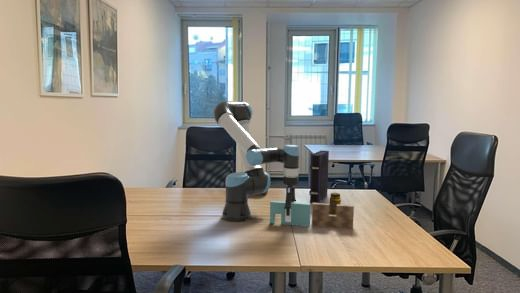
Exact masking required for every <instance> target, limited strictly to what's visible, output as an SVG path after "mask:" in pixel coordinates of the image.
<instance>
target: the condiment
mask: <svg viewBox="0 0 520 293" xmlns="http://www.w3.org/2000/svg"><path fill="white" fill-rule="evenodd" d="M341 202H342V199H341V193H339V192H338V193H337V192H331V193H330V197H329V203H328V204H329V215H336V210H337V204H340V205H342V203H341Z"/></svg>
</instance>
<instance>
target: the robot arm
mask: <svg viewBox="0 0 520 293" xmlns="http://www.w3.org/2000/svg"><path fill="white" fill-rule="evenodd" d="M252 115H253V109H252V106H251V105H250V104H249V103H248V102H245V101H241V100H237V101H235V100H234V101H233V100H231V101H229V100H223V101H220V102H218V103H217V104H216V105H215V107H214V109H213V119H214V120H215V123H217V125H218V126H219V127H220V128H223V129H224V130H225V131H226V132H227V134H228V135H229V136H230V137H231V138H232V140H234V142H235V143H236V144H237V146H238V149H239V153H240V159H241V161H242V165H243V171H239V172H238V171H237V172H232V173H229V174H227V176H226V177H225V183H224V184H225V204H224V207H223V210H222V213H221V215H222V216H221V218H222V219H223V220H225V221H229V222H245V221H248V220H250V219H251V216H252V215H251V209H250V206H249V203H248V198H249V197H251V196H256V194H262V193H264V192H266V191H267V190H268V191H269V189H270V187H271V183H272V182H271V177H270V174H269V173H268V172H266V171H264V167H262V166H261V165H264V164H271V163H272V164H274V163H282V164H283V170H282V171H283V173H282V174H283V177H282V179H283V181H282V182H283V184H284V185H285V186H286V185H287V187H286V189H285V201H284V202H285V207H284V209H285V222H291V202H297V199H296V187H295V186H296V185H299V173H300V172H301V170H300V168H299V167H300V147H299V145H297V144H285V145H284V146H283V147H277V146H269V147H267V148H262V147H261V146H260V145H259V144H258V143H257V141H256V140H254V138H253V136H252V132H251V129H250V124H251V120H252V117H253V116H252Z"/></svg>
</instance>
